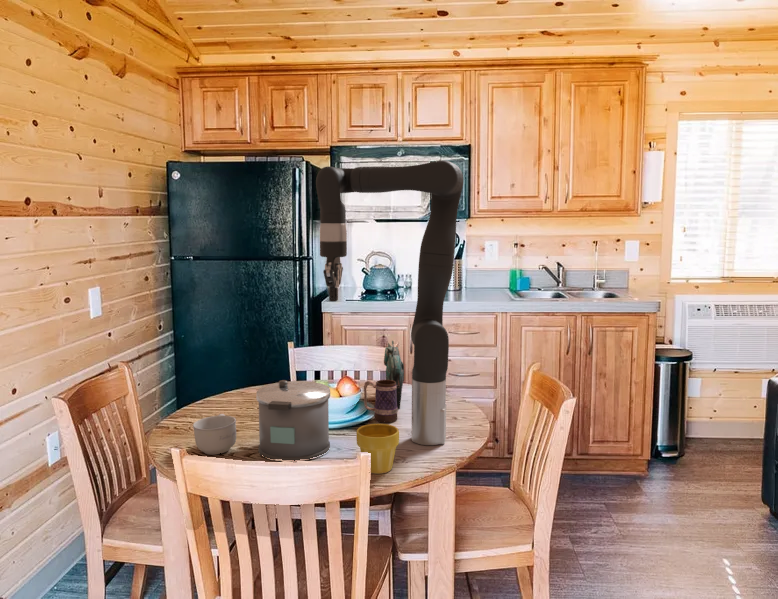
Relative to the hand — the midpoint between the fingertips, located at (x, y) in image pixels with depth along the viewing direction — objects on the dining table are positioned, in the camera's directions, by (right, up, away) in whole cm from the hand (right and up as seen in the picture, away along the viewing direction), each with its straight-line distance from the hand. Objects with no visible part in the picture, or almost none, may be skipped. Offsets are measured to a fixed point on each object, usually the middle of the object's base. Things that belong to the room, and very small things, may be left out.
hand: (333, 301), depth 180 cm
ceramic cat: (+18, -34, +31) cm, 49 cm away
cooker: (-9, -39, -13) cm, 42 cm away
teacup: (-29, -39, -12) cm, 51 cm away
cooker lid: (-9, -25, -16) cm, 31 cm away
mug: (+13, -36, +12) cm, 40 cm away
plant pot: (+13, -41, -25) cm, 50 cm away
